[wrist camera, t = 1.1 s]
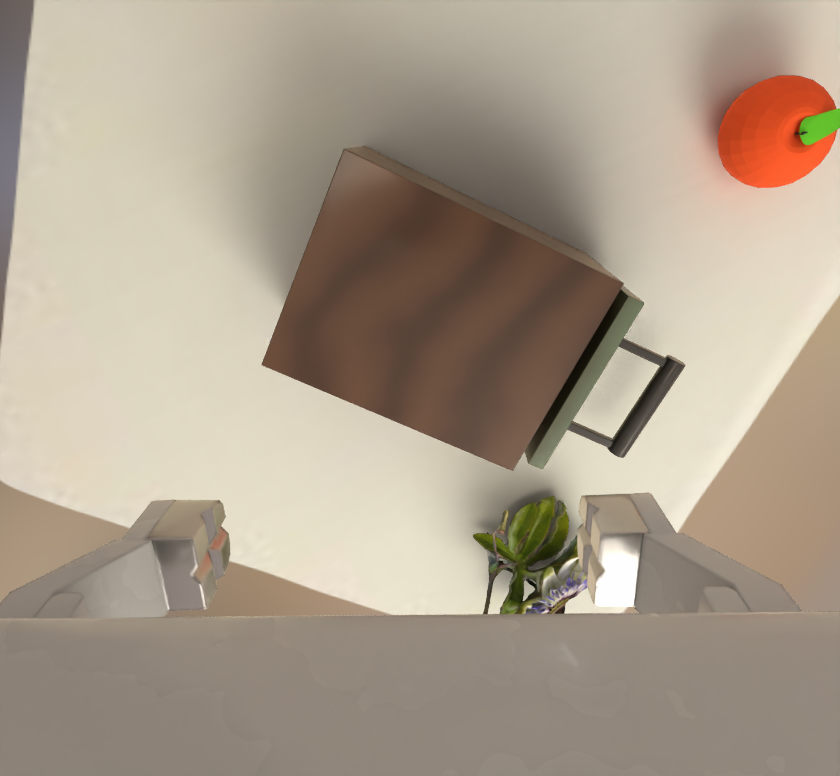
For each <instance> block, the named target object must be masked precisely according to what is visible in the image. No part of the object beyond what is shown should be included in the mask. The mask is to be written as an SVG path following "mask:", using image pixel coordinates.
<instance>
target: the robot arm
mask: <svg viewBox="0 0 840 776" xmlns="http://www.w3.org/2000/svg"><path fill="white" fill-rule="evenodd" d="M579 514H580V516H581V519H582V522H583V524H582V525H581V526H580V527H579V528H578V531H577V551H578V558H579V563H580V566H581V569H582V571H583V572H584V573H585V574H587V587H588V590H589V593H590V595H591V598H592V601H593V604H594V606H620V607H635V609H636V610H637V611H638V612H639V613H581V614H467V615H352V616H351V615H350V616H235V617H234V616H232V617H163V616H164V615H166V614H167V613H168V611H177V610H201V609H202V610H203V609H207V608H208V606H209V604H210V602H211V600H212V598H213V596H214V594H215V592H216V590H217V585H216V580H217V579H218V578H220V577H221V576H223V575H224V573H225V571H226V569H227V567H228V562H229V557H230V540H229V534H228V533H227V532H226V531H225V530H224V529H223V528H222V527H221V525H222V523H223V521H224V519H225V517H226V516H225V511H224V507H223V504H222V503H221V502H220V500H156V501H152V502H151V503H150V504H149V505H148V507H147V508H146V509H145V511H144V512H143V513H142V514H141V516H140V517H139V518H138V519H137V521H136V522H135V523H134V524H133V526H132V527H131V528H130V529H129V531H128V532H127V533H126V534H125V536H124V537H123V538H122V539H121V540H114V541H112V542H110V543H108V544H106V545H104V546H102V547H100V548H98V549H96V550H94V551H92V552H90V553H88V554H86V555H84V556H82V557H80V558H78V559H76V560H74V561H72V562H70V563H68V564H66V565H64V566H62V567H60V568H58V569H56V570H54V571H52V572H50V573H48V574H46V575H44V576H42V577H40V578H38V579H36V580H34V581H32V582H30V583H27V584H26V585H24V586H22V587H19V588H17V589H16V590H14V591H12V592H10V593H9V594H8V595H7V596H6V597H5V598H4V599H3V601H2V602H1V603H0V776H840V611H828V612H826V611H822V612H821V611H819V612H803V611H802V610H801V609H800V608H799V606H798V605H797V604H796V602H795V601H794V600H793V599H792V597H791V596H790V595H789V594H788V592H787V591H786V590H785V588H784V587H783V586H782V585H781V584H779V583H777V582H775V581H773V580H771V579H770V578H768V577H765V576H764V575H762V574H760V573H758V572H756V571H754V570H752V569H750V568H749V567H747V566H745V565H743V564H741V563H739V562H737V561H735V560H733V559H731V558H729V557H728V556H725V555H724V554H722V553H720V552H718V551H716V550H714V549H712V548H710V547H708V546H707V545H704V544H703V543H701V542H699V541H697V540H695V539H693V538H691V537H689V536H687V535H686V534H684V533H676V532H675V530H674V529H673V527H672V525H671V524H670V522H669V521H668V519H667V518H666V516H665V514H664V513H663V511H662V510H661V508H660V507H659V505H658V503H657V502H656V500H655V499H654V497H653V496H652V494H650V493H634V494H611V495H586V496H581V499H580V505H579Z"/></svg>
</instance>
